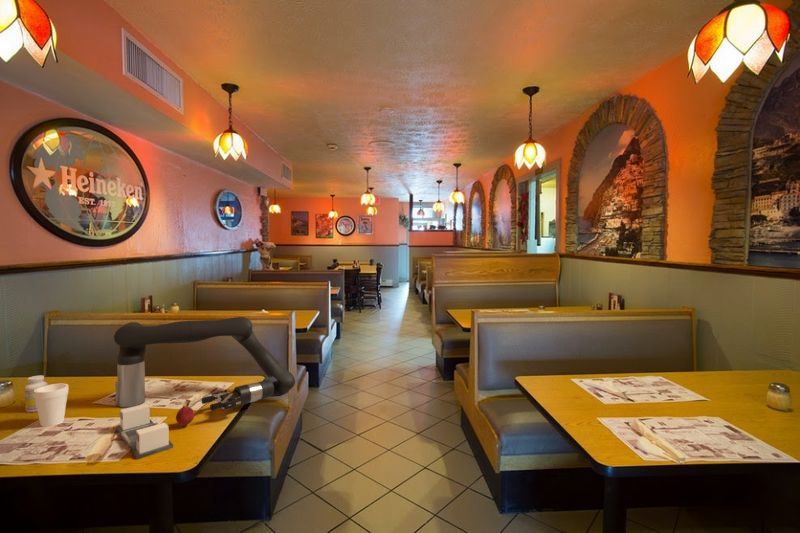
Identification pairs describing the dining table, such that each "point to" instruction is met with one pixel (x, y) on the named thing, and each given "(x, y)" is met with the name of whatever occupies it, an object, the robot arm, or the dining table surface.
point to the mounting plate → (131, 440)
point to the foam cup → (51, 403)
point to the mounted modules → (146, 436)
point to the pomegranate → (185, 415)
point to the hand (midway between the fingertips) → (206, 404)
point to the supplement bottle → (32, 392)
